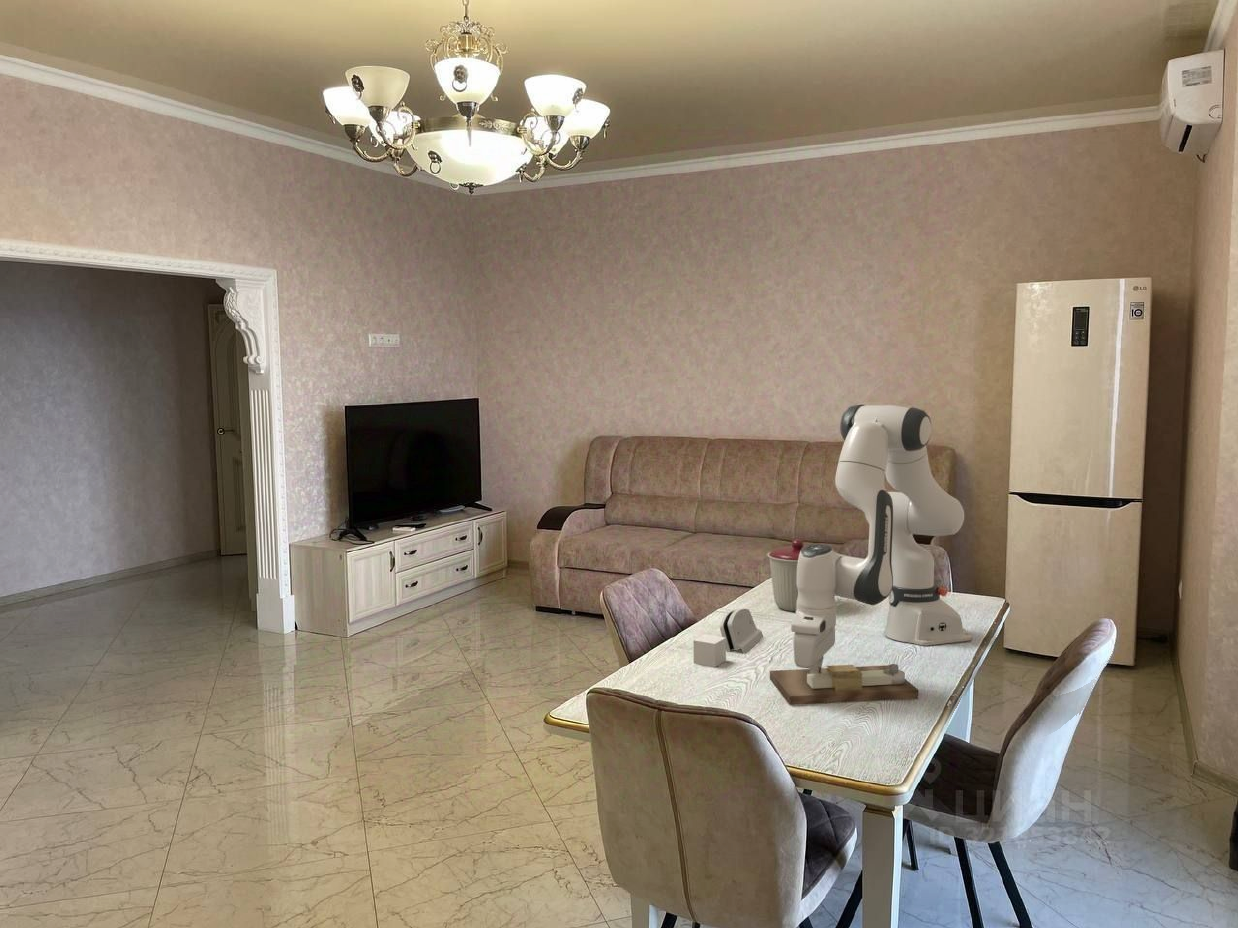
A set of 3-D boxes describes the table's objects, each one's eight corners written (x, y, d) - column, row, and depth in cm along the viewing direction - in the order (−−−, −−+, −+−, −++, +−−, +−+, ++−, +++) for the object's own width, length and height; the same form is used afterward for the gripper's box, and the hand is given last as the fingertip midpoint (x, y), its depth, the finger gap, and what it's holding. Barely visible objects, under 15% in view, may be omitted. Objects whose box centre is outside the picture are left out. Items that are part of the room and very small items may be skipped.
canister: (836, 604, 283) (836, 537, 281) (815, 618, 268) (815, 547, 265) (780, 597, 293) (781, 532, 290) (757, 610, 277) (757, 541, 275)
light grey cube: (715, 667, 226) (714, 643, 226) (693, 663, 230) (693, 640, 229) (726, 660, 231) (725, 637, 231) (704, 656, 235) (704, 633, 234)
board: (888, 673, 220) (889, 665, 219) (918, 698, 203) (918, 689, 203) (769, 678, 217) (769, 670, 217) (789, 705, 200) (789, 696, 200)
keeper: (852, 681, 208) (852, 664, 208) (861, 690, 202) (862, 673, 202) (826, 682, 208) (826, 665, 207) (835, 692, 202) (835, 674, 201)
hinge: (744, 654, 236) (731, 616, 237) (728, 657, 238) (715, 621, 239) (763, 636, 251) (752, 601, 251) (748, 640, 253) (736, 605, 254)
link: (899, 676, 210) (899, 661, 210) (908, 683, 206) (908, 668, 205) (806, 681, 208) (806, 666, 208) (813, 689, 203) (813, 673, 203)
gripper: (815, 603, 220) (815, 659, 222) (788, 626, 202) (788, 687, 204) (842, 606, 217) (841, 663, 219) (816, 629, 199) (816, 691, 201)
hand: (815, 675), depth 211 cm, fingers closed
